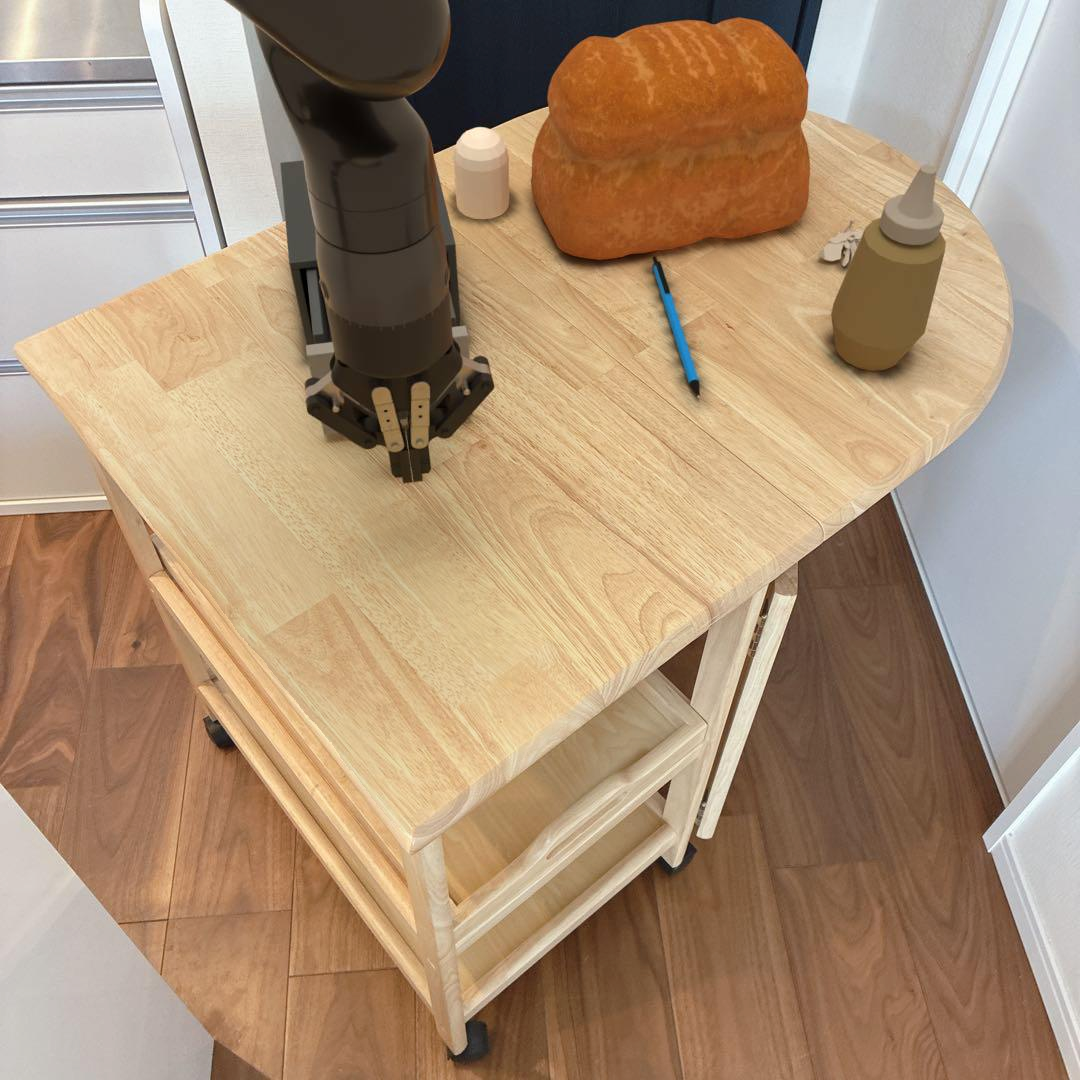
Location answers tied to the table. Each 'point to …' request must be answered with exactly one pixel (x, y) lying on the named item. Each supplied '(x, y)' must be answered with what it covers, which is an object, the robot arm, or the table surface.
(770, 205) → the bread
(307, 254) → the cabinet
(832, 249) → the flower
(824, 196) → the table surface
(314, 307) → the drawer
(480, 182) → the white domed cylinder
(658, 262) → the pen
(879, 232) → the squeeze bottle
